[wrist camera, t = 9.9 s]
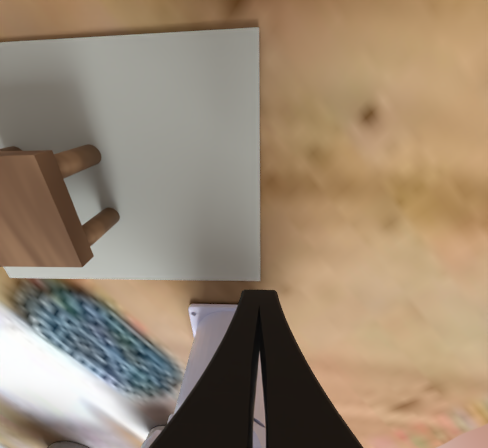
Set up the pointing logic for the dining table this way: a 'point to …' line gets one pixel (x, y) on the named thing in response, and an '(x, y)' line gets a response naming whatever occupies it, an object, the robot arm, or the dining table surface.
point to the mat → (148, 146)
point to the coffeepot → (66, 445)
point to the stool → (46, 209)
